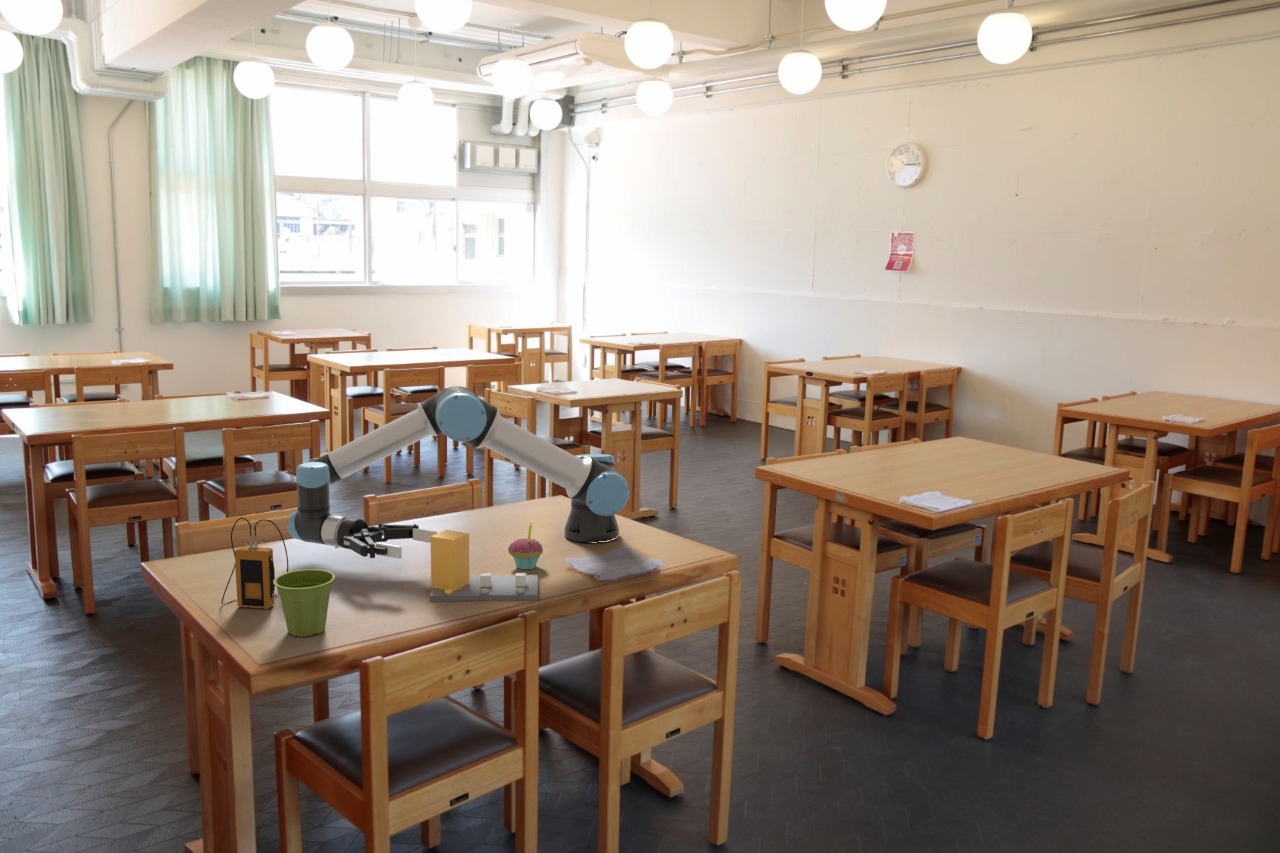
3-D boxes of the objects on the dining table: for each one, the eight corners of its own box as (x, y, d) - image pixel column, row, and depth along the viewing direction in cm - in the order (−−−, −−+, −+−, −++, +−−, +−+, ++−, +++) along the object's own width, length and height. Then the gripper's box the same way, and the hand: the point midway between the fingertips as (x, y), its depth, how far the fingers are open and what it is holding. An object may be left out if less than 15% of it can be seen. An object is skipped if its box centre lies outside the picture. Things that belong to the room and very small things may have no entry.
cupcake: (549, 567, 247) (550, 520, 245) (523, 574, 241) (524, 526, 238) (527, 559, 252) (527, 513, 250) (501, 566, 246) (501, 519, 244)
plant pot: (273, 624, 205) (271, 572, 203) (333, 617, 209) (331, 566, 207) (277, 645, 194) (275, 590, 192) (339, 638, 199) (338, 584, 197)
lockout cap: (446, 579, 232) (446, 529, 230) (469, 583, 229) (469, 533, 227) (431, 587, 226) (430, 536, 224) (453, 591, 224) (453, 540, 222)
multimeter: (305, 595, 222) (302, 509, 219) (285, 611, 212) (282, 521, 209) (242, 591, 223) (239, 505, 220) (220, 607, 214) (215, 517, 210)
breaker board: (537, 579, 237) (537, 564, 236) (538, 599, 223) (538, 584, 223) (435, 580, 234) (435, 565, 234) (429, 601, 221) (429, 585, 220)
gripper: (379, 534, 250) (450, 546, 242) (309, 561, 228) (384, 575, 219) (379, 506, 249) (449, 517, 240) (308, 529, 226) (384, 542, 218)
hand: (419, 545), depth 230 cm, fingers open, 13 cm apart
